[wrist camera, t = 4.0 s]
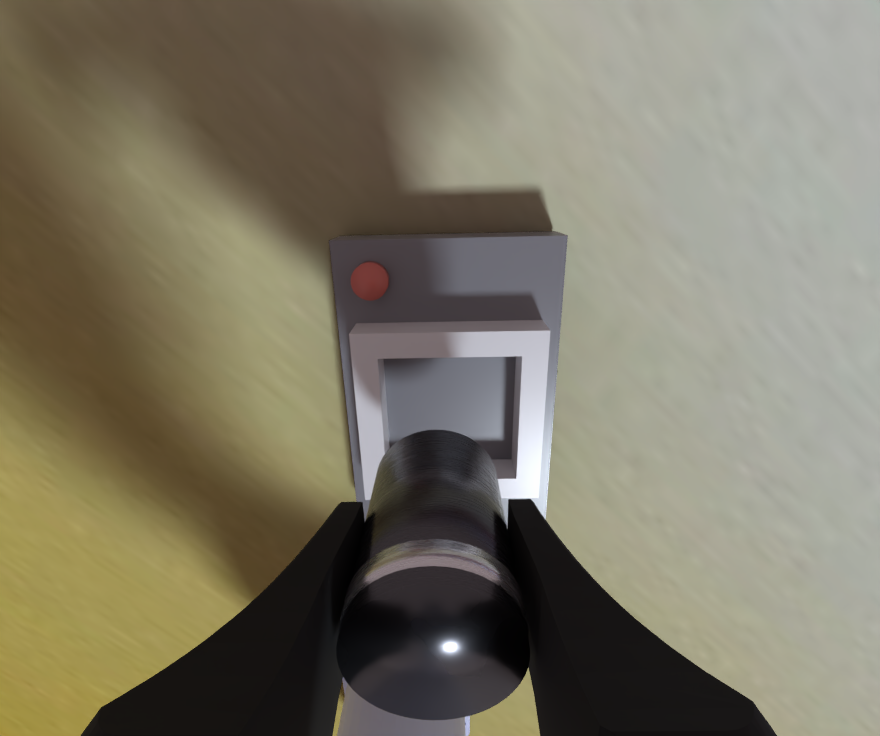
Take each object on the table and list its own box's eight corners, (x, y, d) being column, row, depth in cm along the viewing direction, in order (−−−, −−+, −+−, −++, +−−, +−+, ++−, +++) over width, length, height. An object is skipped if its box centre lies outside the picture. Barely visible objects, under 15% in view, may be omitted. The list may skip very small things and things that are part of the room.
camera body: (536, 506, 24) (551, 556, 21) (366, 508, 24) (354, 558, 21) (555, 231, 19) (578, 239, 16) (340, 235, 19) (318, 244, 16)
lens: (487, 538, 16) (511, 729, 10) (369, 525, 16) (329, 712, 10) (509, 436, 14) (552, 593, 9) (380, 420, 14) (339, 571, 8)
